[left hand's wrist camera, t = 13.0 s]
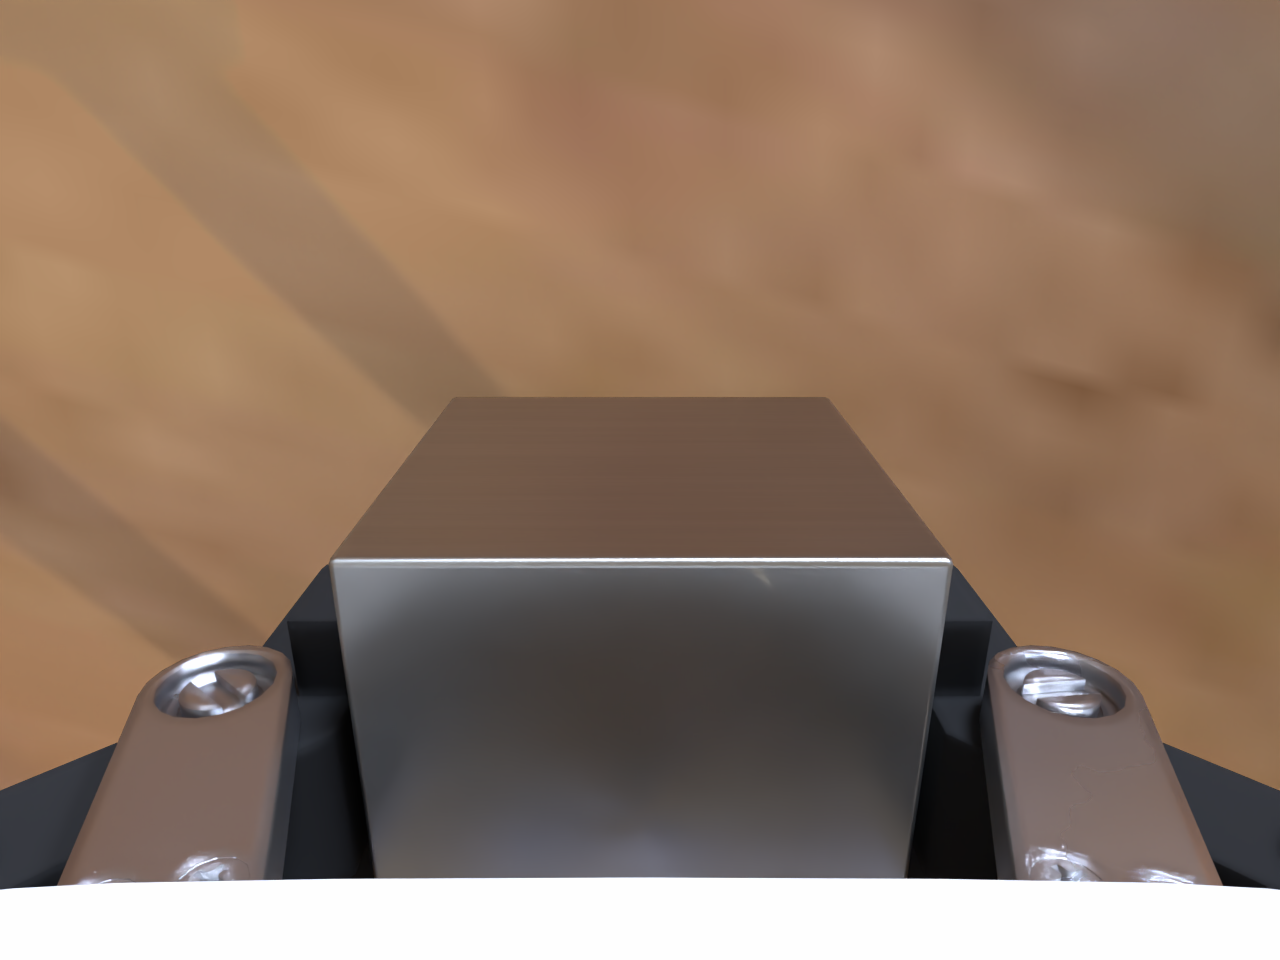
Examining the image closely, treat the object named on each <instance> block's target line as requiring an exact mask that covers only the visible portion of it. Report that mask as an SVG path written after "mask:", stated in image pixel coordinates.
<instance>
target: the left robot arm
mask: <svg viewBox="0 0 1280 960" xmlns="http://www.w3.org/2000/svg"><path fill="white" fill-rule="evenodd" d="M0 960H1280V791H1279V790H1276V789H1274V788H1272V787H1269V786H1267V785H1264V784H1262V783H1259V782H1257V781H1255V780H1252V779H1250V778H1247V777H1245V776H1242V775H1240V774H1238V773H1235V772H1233V771H1230V770H1228V769H1225V768H1223V767H1220V766H1218V765H1216V764H1213V763H1211V762H1208V761H1206V760H1203V759H1201V758H1199V757H1196V756H1194V755H1191V754H1189V753H1186V752H1184V751H1182V750H1179V749H1177V748H1174V747H1172V746H1169V745H1167V744H1164V743H1162V741H1161V738H1160V736H1159V734H1158V731H1157V729H1156V727H1155V724H1154V722H1153V720H1152V717H1151V715H1150V713H1149V710H1148V708H1147V705H1146V703H1145V701H1144V698H1143V696H1142V695H1141V693H1140V692H1139V690H1138V689H1137V687H1136V686H1135V685H1134V683H1133V682H1132V681H1130V680H1129V679H1128V678H1127V677H1125V676H1124V675H1123V674H1122V673H1120V672H1119V671H1118V670H1116V669H1114V668H1112V667H1111V666H1109V665H1107V664H1105V663H1103V662H1101V661H1099V660H1097V659H1094V658H1092V657H1089V656H1086V655H1083V654H1080V653H1078V652H1074V651H1070V650H1065V649H1060V648H1056V647H1047V646H1033V645H1030V646H1021V647H1017V646H1016V645H1015V643H1014V642H1013V641H1012V639H1011V638H1010V637H1009V635H1008V634H1007V633H1006V631H1005V630H1004V629H1003V628H1002V626H1001V625H1000V624H999V622H998V621H997V620H996V618H995V617H994V616H993V614H992V613H991V612H990V611H989V609H988V608H987V607H986V605H985V604H984V603H983V601H982V600H981V599H980V597H979V596H978V595H977V594H976V592H975V591H974V590H973V588H972V587H971V586H970V584H969V583H968V582H967V580H966V579H965V578H964V577H963V575H962V574H961V573H960V571H959V570H958V569H957V568H956V567H955V566H954V565H953V569H952V576H951V583H950V589H949V596H948V603H947V610H946V617H945V624H944V630H943V637H942V644H941V651H940V658H939V665H938V671H937V678H936V685H935V692H934V699H933V705H932V712H931V719H930V726H929V733H928V740H927V746H926V753H925V760H924V767H923V774H922V781H921V787H920V794H919V801H918V808H917V815H916V822H915V828H914V835H913V842H912V849H911V856H910V863H909V869H908V876H907V879H839V878H442V879H374V872H373V865H372V858H371V851H370V844H369V838H368V831H367V824H366V817H365V810H364V803H363V796H362V790H361V783H360V776H359V769H358V762H357V755H356V748H355V742H354V735H353V728H352V721H351V714H350V707H349V700H348V693H347V687H346V680H345V673H344V666H343V659H342V652H341V645H340V639H339V632H338V625H337V618H336V611H335V604H334V597H333V591H332V584H331V577H330V570H329V565H326V566H325V567H324V568H322V569H321V571H320V572H319V573H318V575H317V576H316V577H315V579H314V580H313V581H312V582H311V584H310V585H309V586H308V588H307V589H306V590H305V592H304V593H303V594H302V596H301V597H300V598H299V599H298V601H297V602H296V603H295V605H294V606H293V607H292V609H291V610H290V611H289V613H288V614H287V615H286V616H285V618H284V619H283V620H282V622H281V623H280V624H279V626H278V627H277V628H276V630H275V631H274V632H273V633H272V635H271V636H270V637H269V639H268V640H267V641H266V643H265V644H264V645H263V647H259V646H250V645H247V646H233V647H224V648H220V649H215V650H210V651H206V652H202V653H200V654H197V655H194V656H191V657H188V658H186V659H183V660H181V661H179V662H177V663H175V664H173V665H171V666H169V667H168V668H166V669H164V670H162V671H161V672H160V673H158V674H157V675H156V676H155V677H153V678H152V679H151V680H150V681H148V682H147V683H146V685H145V686H144V687H143V689H142V690H141V692H140V693H139V694H138V696H137V698H136V701H135V703H134V705H133V708H132V710H131V713H130V715H129V717H128V720H127V722H126V724H125V727H124V729H123V731H122V734H121V736H120V738H119V741H118V743H115V744H113V745H110V746H108V747H105V748H103V749H101V750H98V751H96V752H93V753H91V754H88V755H86V756H83V757H81V758H79V759H76V760H74V761H71V762H69V763H66V764H64V765H62V766H59V767H57V768H54V769H52V770H49V771H47V772H45V773H42V774H40V775H37V776H35V777H32V778H30V779H28V780H25V781H23V782H20V783H18V784H15V785H13V786H10V787H8V788H6V789H3V790H1V791H0Z"/></svg>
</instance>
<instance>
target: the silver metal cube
mask: <svg viewBox="0 0 1280 960" xmlns="http://www.w3.org/2000/svg"><path fill="white" fill-rule="evenodd" d="M952 569H953V562H952V559H951V557H950V556H949V555H948V553H947V552H946V551H945V549H944V548H943V547H942V545H941V544H940V543H939V542H938V540H937V539H936V538H935V536H934V535H933V534H932V532H931V531H930V530H929V529H928V527H927V526H926V525H925V523H924V522H923V521H922V519H921V518H920V517H919V516H918V514H917V513H916V512H915V510H914V509H913V508H912V506H911V505H910V504H909V503H908V501H907V500H906V499H905V497H904V496H903V495H902V493H901V492H900V491H899V490H898V488H897V487H896V486H895V484H894V483H893V482H892V480H891V479H890V478H889V477H888V475H887V474H886V473H885V471H884V470H883V469H882V467H881V466H880V465H879V464H878V462H877V461H876V460H875V458H874V457H873V456H872V454H871V453H870V452H869V451H868V449H867V448H866V447H865V445H864V444H863V443H862V441H861V440H860V439H859V438H858V436H857V435H856V434H855V432H854V431H853V430H852V429H851V427H850V426H849V425H848V423H847V422H846V421H845V419H844V418H843V417H842V416H841V414H840V413H839V412H838V410H837V409H836V408H835V406H834V405H833V404H832V403H831V401H830V400H829V399H828V398H825V397H456V398H453V399H452V400H451V401H450V403H449V404H448V405H447V407H446V408H445V409H444V411H443V412H442V413H441V414H440V416H439V417H438V418H437V420H436V421H435V422H434V424H433V425H432V426H431V428H430V429H429V430H428V431H427V433H426V434H425V435H424V437H423V438H422V439H421V441H420V442H419V443H418V445H417V446H416V447H415V448H414V450H413V451H412V452H411V454H410V455H409V456H408V458H407V459H406V460H405V462H404V463H403V464H402V465H401V467H400V468H399V469H398V471H397V472H396V473H395V475H394V476H393V477H392V479H391V480H390V481H389V482H388V484H387V485H386V486H385V488H384V489H383V490H382V492H381V493H380V494H379V496H378V497H377V498H376V499H375V501H374V502H373V503H372V505H371V506H370V507H369V509H368V510H367V511H366V513H365V514H364V515H363V516H362V518H361V519H360V520H359V522H358V523H357V524H356V526H355V527H354V528H353V530H352V531H351V532H350V533H349V535H348V536H347V537H346V539H345V540H344V541H343V543H342V544H341V545H340V547H339V548H338V549H337V550H336V552H335V553H334V554H333V556H332V557H331V558H330V562H329V570H330V577H331V584H332V591H333V597H334V604H335V611H336V618H337V625H338V632H339V639H340V645H341V652H342V659H343V666H344V673H345V680H346V687H347V693H348V700H349V707H350V714H351V721H352V728H353V735H354V742H355V748H356V755H357V762H358V769H359V776H360V783H361V790H362V796H363V803H364V810H365V817H366V824H367V831H368V838H369V844H370V851H371V858H372V865H373V872H374V879H442V878H839V879H907V876H908V869H909V863H910V856H911V849H912V842H913V835H914V828H915V822H916V815H917V808H918V801H919V794H920V787H921V781H922V774H923V767H924V760H925V753H926V746H927V740H928V733H929V726H930V719H931V712H932V705H933V699H934V692H935V685H936V678H937V671H938V665H939V658H940V651H941V644H942V637H943V630H944V624H945V617H946V610H947V603H948V596H949V589H950V583H951V576H952Z"/></svg>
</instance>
